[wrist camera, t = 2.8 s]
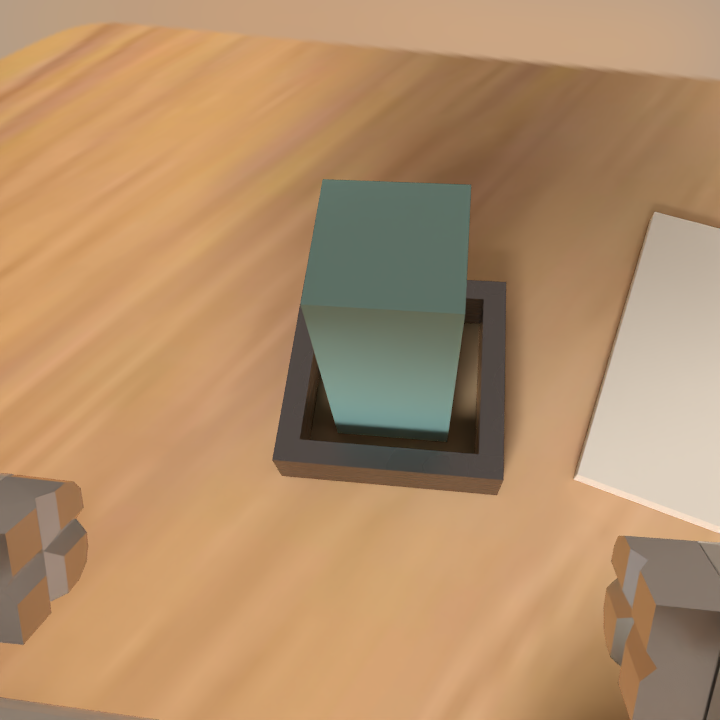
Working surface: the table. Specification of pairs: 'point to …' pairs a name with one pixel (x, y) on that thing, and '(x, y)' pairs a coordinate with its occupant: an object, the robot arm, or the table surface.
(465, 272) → the teal block
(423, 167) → the table surface
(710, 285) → the white mat
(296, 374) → the metal cradle
